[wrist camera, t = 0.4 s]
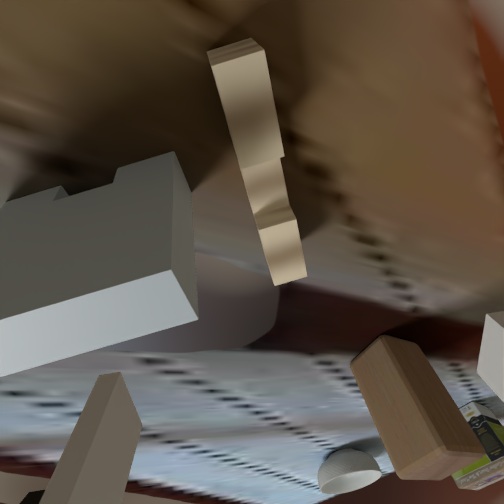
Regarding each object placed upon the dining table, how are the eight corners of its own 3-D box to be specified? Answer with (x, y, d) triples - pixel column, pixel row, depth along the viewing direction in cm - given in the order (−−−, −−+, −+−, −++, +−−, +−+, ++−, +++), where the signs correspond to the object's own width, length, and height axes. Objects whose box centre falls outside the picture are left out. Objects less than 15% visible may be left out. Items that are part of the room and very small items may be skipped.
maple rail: (206, 51, 30) (211, 66, 25) (251, 37, 29) (264, 49, 25) (264, 253, 45) (274, 285, 40) (294, 245, 45) (307, 276, 40)
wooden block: (418, 341, 65) (491, 455, 50) (382, 370, 70) (439, 482, 55) (381, 331, 61) (449, 451, 45) (346, 363, 66) (396, 482, 50)
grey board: (36, 239, 38) (-44, 389, 24) (5, 202, 35) (-107, 351, 21) (191, 192, 38) (198, 319, 24) (174, 150, 35) (171, 269, 21)
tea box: (442, 432, 98) (476, 492, 87) (423, 426, 93) (457, 489, 82) (489, 406, 92) (533, 467, 80) (472, 399, 87) (516, 463, 76)
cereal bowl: (302, 468, 98) (309, 497, 92) (329, 441, 89) (339, 471, 83) (352, 465, 103) (361, 492, 98) (382, 440, 94) (394, 468, 89)
